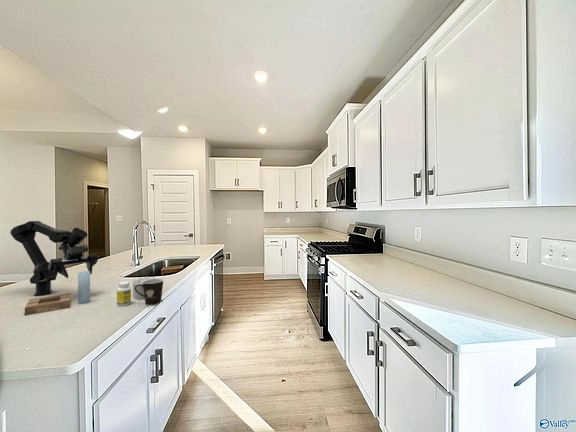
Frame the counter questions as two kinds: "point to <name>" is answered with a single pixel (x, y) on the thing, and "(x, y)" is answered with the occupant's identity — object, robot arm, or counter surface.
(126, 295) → the supplement bottle
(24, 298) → the counter surface
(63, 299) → the holder
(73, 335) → the counter surface
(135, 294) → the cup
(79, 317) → the counter surface
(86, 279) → the peg
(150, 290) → the coffee mug
